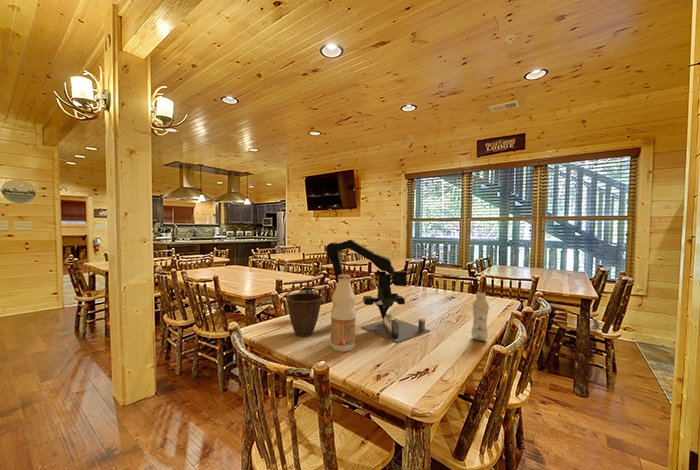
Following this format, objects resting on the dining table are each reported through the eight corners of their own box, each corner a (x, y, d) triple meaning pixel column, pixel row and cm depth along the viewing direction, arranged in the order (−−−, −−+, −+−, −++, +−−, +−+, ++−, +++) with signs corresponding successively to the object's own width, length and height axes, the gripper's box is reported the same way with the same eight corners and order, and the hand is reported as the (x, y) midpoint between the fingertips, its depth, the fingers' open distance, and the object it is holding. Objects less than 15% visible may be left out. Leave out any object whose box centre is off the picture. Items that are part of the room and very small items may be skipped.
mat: (397, 343, 117) (397, 342, 117) (361, 327, 134) (361, 326, 134) (429, 331, 131) (429, 330, 131) (393, 318, 148) (393, 317, 148)
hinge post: (395, 340, 120) (395, 322, 119) (389, 338, 122) (390, 320, 122) (400, 338, 121) (400, 321, 121) (394, 336, 124) (395, 319, 123)
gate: (395, 334, 123) (396, 320, 123) (392, 334, 123) (392, 320, 123) (386, 322, 139) (386, 309, 139) (382, 322, 139) (383, 309, 139)
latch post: (422, 333, 128) (422, 320, 128) (417, 331, 130) (418, 318, 130) (425, 332, 130) (425, 319, 130) (420, 330, 132) (421, 317, 131)
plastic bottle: (486, 338, 124) (488, 292, 124) (488, 344, 118) (490, 295, 117) (470, 335, 126) (472, 290, 126) (471, 341, 120) (473, 294, 119)
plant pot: (279, 333, 124) (279, 296, 124) (306, 325, 135) (307, 291, 135) (300, 343, 114) (301, 303, 114) (328, 333, 125) (328, 297, 125)
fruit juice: (327, 350, 108) (328, 276, 108) (334, 340, 118) (336, 272, 117) (351, 353, 106) (353, 278, 105) (357, 343, 115) (358, 274, 114)
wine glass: (308, 321, 140) (308, 291, 140) (295, 318, 144) (296, 288, 144) (318, 317, 147) (318, 288, 146) (306, 314, 151) (306, 286, 151)
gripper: (368, 289, 123) (367, 325, 123) (409, 288, 126) (408, 324, 126) (362, 283, 134) (361, 316, 134) (401, 283, 137) (400, 316, 137)
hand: (383, 318), depth 133 cm, fingers closed
